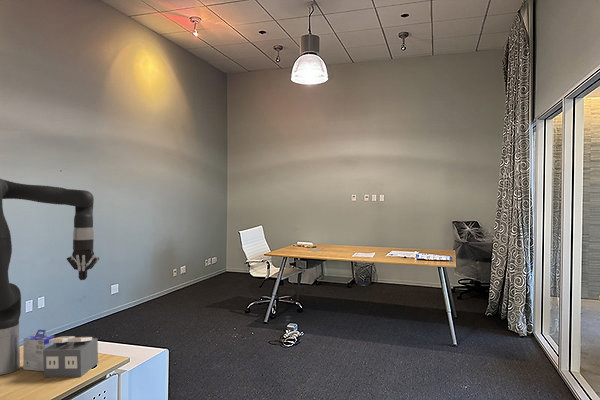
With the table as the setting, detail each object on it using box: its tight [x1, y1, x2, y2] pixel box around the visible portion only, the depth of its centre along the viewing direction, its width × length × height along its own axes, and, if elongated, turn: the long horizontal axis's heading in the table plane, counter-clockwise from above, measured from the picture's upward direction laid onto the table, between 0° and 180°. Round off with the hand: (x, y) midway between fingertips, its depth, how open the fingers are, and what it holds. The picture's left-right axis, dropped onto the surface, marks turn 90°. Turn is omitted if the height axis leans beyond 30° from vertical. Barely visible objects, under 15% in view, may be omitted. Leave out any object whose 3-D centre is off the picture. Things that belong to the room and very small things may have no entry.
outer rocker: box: [68, 336, 93, 342], centre depth 153 cm, size 5×8×1 cm, turn 179°
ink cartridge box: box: [22, 329, 55, 372], centre depth 155 cm, size 10×6×14 cm, turn 78°
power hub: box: [43, 337, 99, 378], centre depth 153 cm, size 14×12×11 cm
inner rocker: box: [49, 335, 76, 344], centre depth 153 cm, size 5×8×1 cm, turn 179°
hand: (82, 279), depth 165 cm, fingers closed
